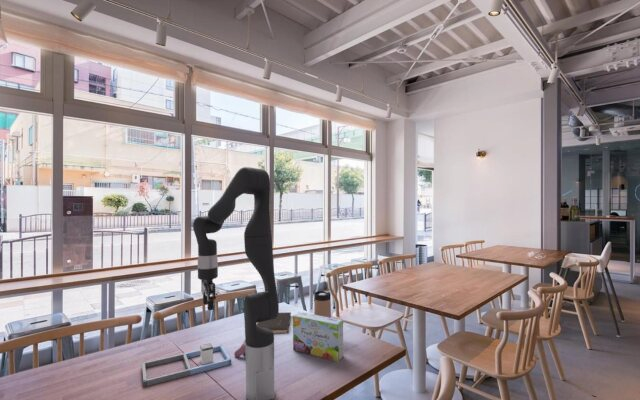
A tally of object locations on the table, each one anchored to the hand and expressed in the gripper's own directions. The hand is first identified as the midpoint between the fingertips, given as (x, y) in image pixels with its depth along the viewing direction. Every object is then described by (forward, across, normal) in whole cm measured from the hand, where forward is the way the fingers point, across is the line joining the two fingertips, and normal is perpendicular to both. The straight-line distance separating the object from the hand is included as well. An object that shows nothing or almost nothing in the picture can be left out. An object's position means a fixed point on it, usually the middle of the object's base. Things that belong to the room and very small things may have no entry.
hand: (208, 306), depth 132 cm
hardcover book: (+22, +21, -36) cm, 47 cm away
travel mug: (+21, -5, -50) cm, 54 cm away
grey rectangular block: (+21, -1, +1) cm, 21 cm away
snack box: (+21, -18, -40) cm, 48 cm away
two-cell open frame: (+21, -1, +8) cm, 23 cm away
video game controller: (+21, -1, -14) cm, 26 cm away
